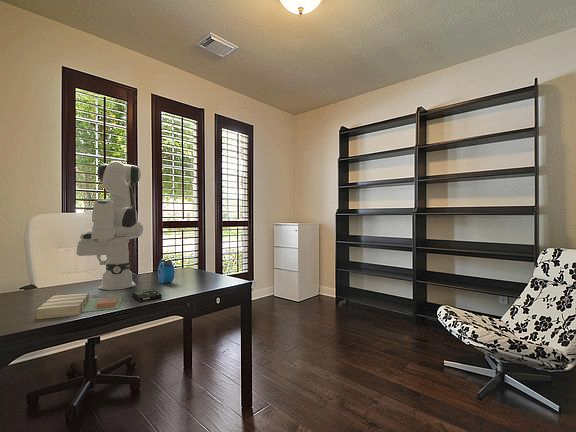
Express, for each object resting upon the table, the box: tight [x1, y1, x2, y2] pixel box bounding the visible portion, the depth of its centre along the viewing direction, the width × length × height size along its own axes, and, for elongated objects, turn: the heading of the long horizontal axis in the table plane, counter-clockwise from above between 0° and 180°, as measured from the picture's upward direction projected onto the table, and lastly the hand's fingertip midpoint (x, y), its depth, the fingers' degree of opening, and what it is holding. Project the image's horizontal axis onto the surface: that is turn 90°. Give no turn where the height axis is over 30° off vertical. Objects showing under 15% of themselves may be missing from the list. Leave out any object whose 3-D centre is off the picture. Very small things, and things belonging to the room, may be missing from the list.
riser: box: [36, 292, 90, 320], centre depth 130 cm, size 22×14×4 cm, turn 25°
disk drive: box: [132, 288, 163, 303], centre depth 152 cm, size 10×3×15 cm
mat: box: [80, 295, 123, 314], centre depth 139 cm, size 22×14×1 cm, turn 25°
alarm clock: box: [157, 257, 175, 284], centre depth 185 cm, size 13×6×15 cm, turn 41°
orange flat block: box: [97, 296, 117, 308], centre depth 137 cm, size 10×7×2 cm
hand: (103, 264), depth 137 cm, fingers closed
